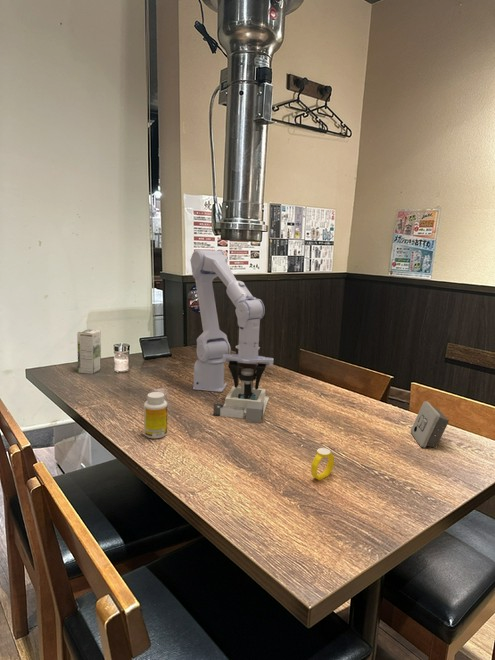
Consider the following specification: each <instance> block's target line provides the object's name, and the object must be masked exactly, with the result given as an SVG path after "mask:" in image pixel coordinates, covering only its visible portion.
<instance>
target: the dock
mask: <svg viewBox="0 0 495 660" xmlns="http://www.w3.org/2000/svg"><path fill="white" fill-rule="evenodd" d="M253 391H254V394H255V395H256V396H257V398H255V399H258V400H249V399H239V398H238V394H240V392H241V386H238V387H237V388H236V387H235V385H233V386H232V388H231V389H230V391H229V392H228V393H227V395H226V397H225V400H224V401H225V402H224V404H223V405H225V406H234V407H244V408H245V414H244V415H245V422H249V423H256V424H257V423H258V424H261V423H262V418H263V416H264V414H265V411H266V408H267V405H268V402H269V399H270V398H269V396H266V389H265V388H260V387H258V389H255V387H253ZM258 396H259V397H258Z"/></svg>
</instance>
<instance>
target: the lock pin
mask: <svg viewBox="0 0 495 660" xmlns="http://www.w3.org/2000/svg"><path fill="white" fill-rule="evenodd" d="M212 412H213V414H212V415H213V416H215V417H224V418H225V417H226V418H233V419H241V420H242V419H243V420H244V418H245V415H246V414H245V408H244V407H234V406H225V405H224V404H222V403H215V404H214V403H213V411H212Z"/></svg>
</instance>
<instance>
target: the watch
mask: <svg viewBox="0 0 495 660" xmlns="http://www.w3.org/2000/svg"><path fill="white" fill-rule="evenodd" d="M323 458H327V464H326V466H325V468H324V470H323V472H321V473H319V474H318V468H319V465H320V462H321V461H322V459H323ZM334 464H335V456H334V454H333V453H332V452H331V450H330V449H328V448H325V447H320V448H318V449H317V450H316V454H315V456H314V458H313V460H312V462H311V467H310V473H311V476H312V477H313V478H314V479H316V480H318V481H321V480H324V479H326V478H328V477H329V476H330V475H331V473H332V471H333V468H334V466H335V465H334Z"/></svg>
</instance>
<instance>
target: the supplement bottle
mask: <svg viewBox="0 0 495 660" xmlns="http://www.w3.org/2000/svg"><path fill="white" fill-rule="evenodd" d="M146 397H147V400H146V401H145V402H144V404H143V433H144V436H145V437H147V438H149V439H161V438H163V437H166V435H168V434H167V433H168V402H167V401H166V399H165V394H164V393H163V392H161V391H153V392H149V393H148V394H147V395H146Z"/></svg>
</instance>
